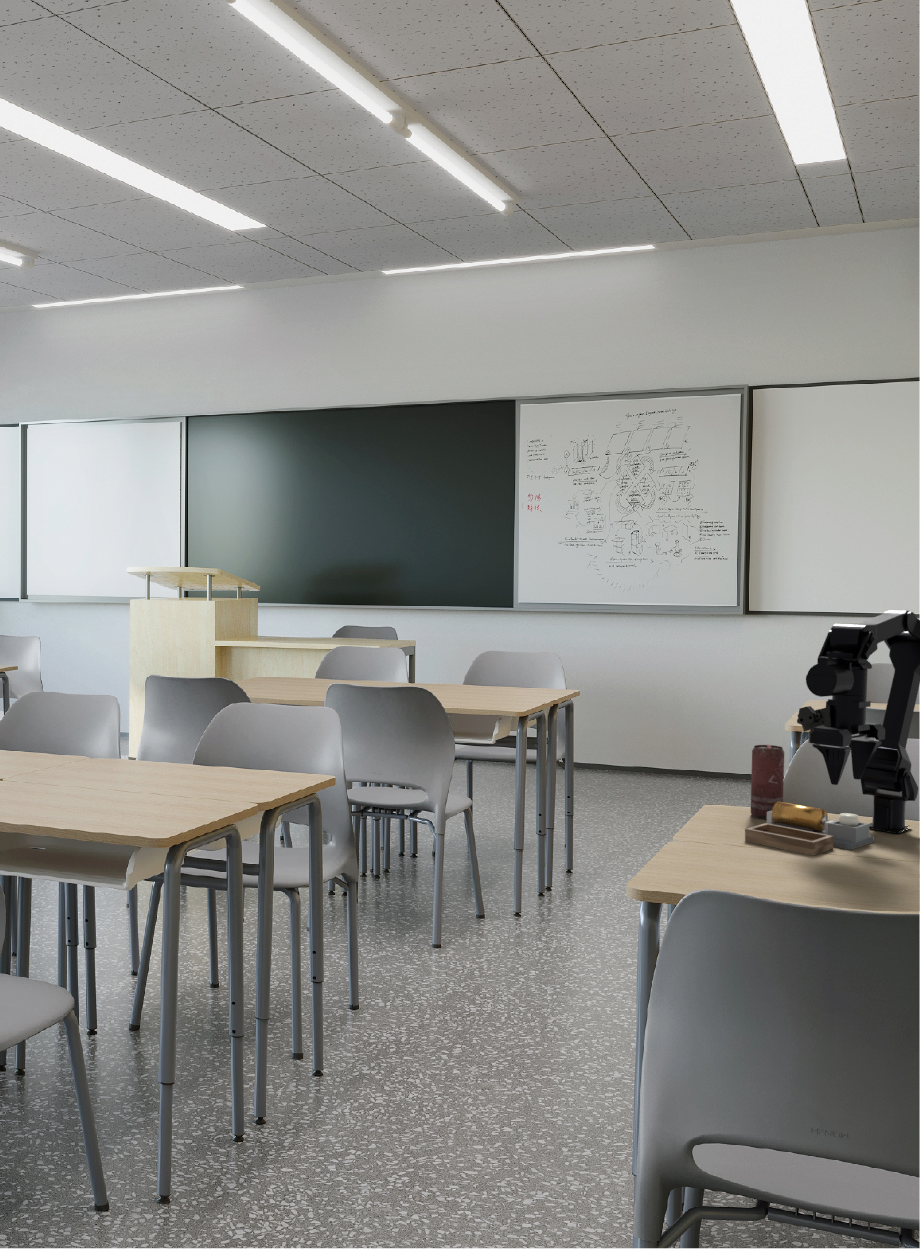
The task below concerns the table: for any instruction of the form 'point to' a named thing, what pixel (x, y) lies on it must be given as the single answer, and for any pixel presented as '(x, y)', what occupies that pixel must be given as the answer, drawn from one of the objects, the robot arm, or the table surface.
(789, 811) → the cell
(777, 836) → the trough
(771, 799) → the can
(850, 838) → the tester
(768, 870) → the table surface
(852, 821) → the bulb
